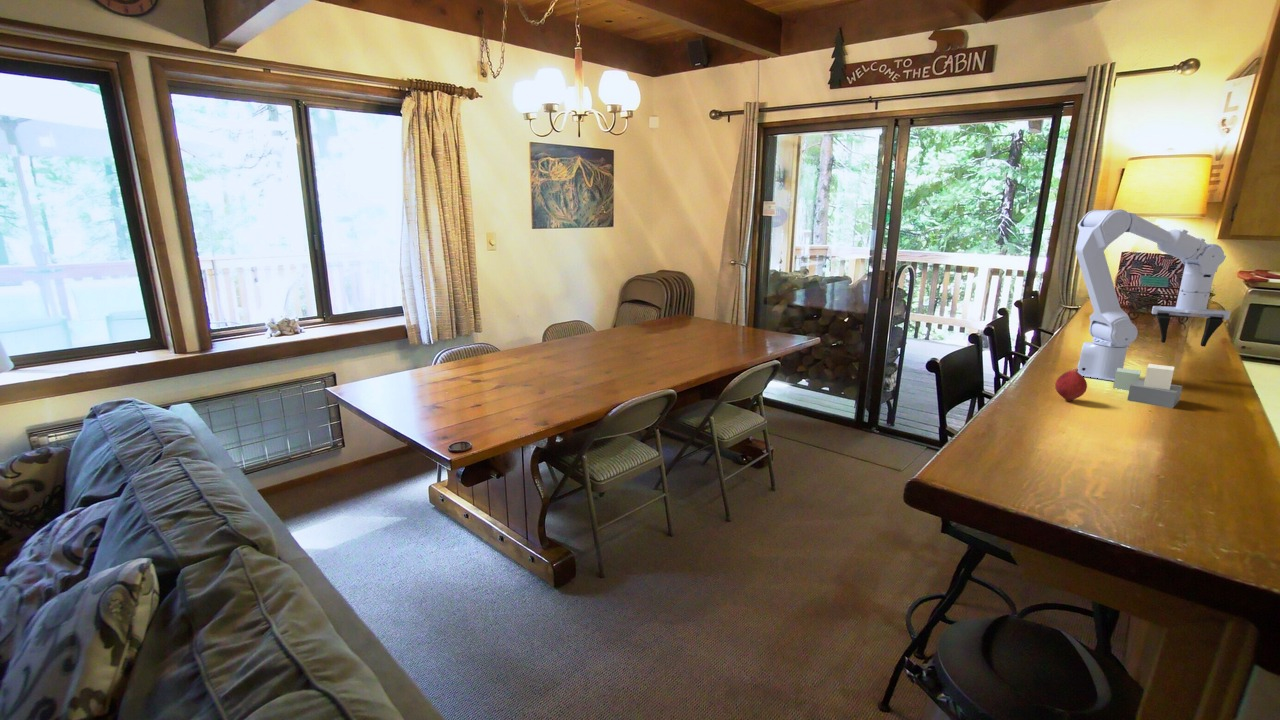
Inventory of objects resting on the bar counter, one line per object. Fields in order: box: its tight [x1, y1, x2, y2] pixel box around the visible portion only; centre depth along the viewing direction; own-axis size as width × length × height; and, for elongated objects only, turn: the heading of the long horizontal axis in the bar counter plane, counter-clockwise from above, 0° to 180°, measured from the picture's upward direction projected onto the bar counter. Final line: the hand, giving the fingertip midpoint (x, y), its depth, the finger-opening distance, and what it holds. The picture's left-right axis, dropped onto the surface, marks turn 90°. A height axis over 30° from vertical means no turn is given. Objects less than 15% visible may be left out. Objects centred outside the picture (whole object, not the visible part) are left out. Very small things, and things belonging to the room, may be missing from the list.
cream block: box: [1144, 363, 1175, 390], centre depth 133 cm, size 4×4×4 cm
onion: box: [1054, 367, 1088, 402], centre depth 134 cm, size 6×6×8 cm
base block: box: [1126, 378, 1184, 410], centre depth 134 cm, size 8×8×4 cm
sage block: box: [1112, 367, 1142, 392], centre depth 144 cm, size 4×4×4 cm
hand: (1182, 343), depth 150 cm, fingers open, 7 cm apart
